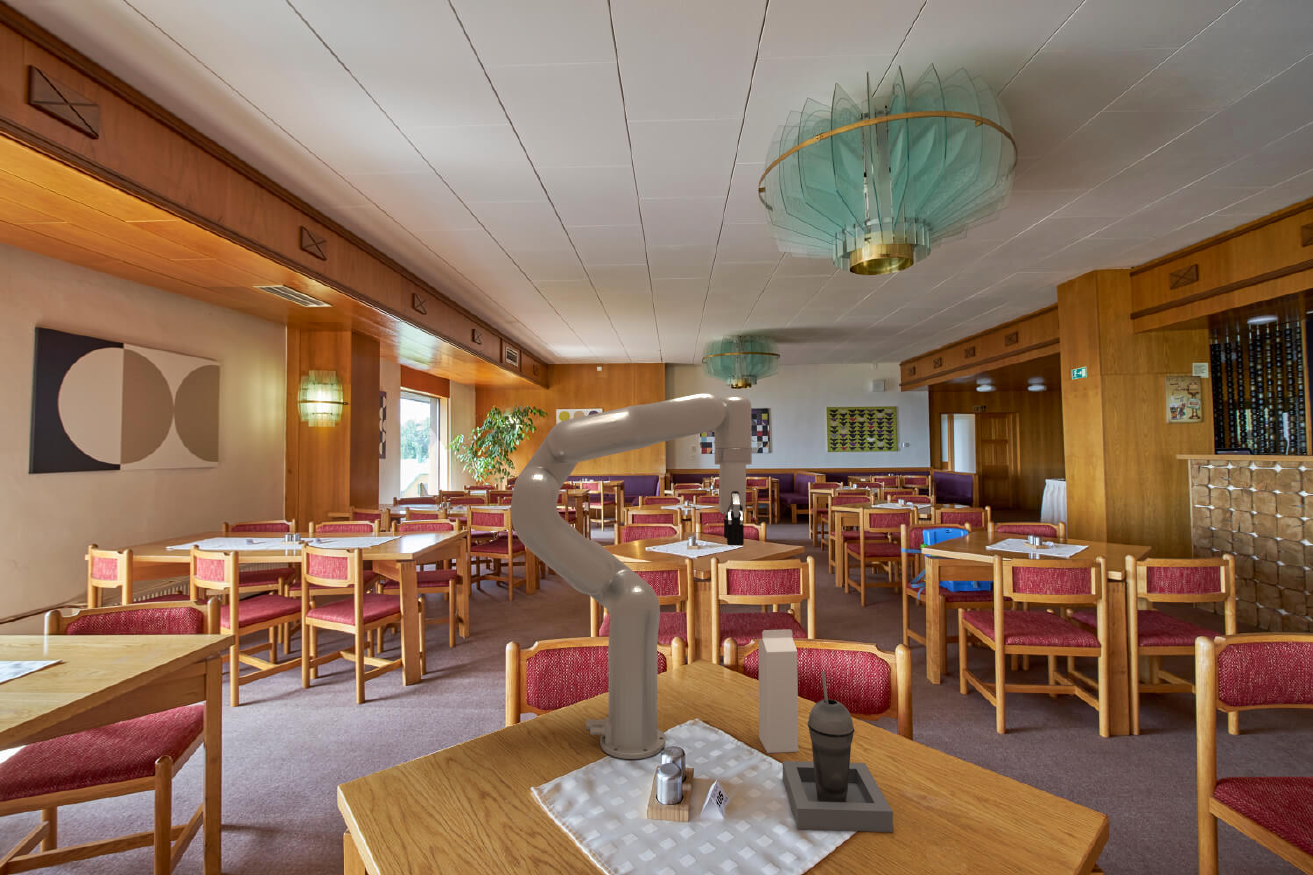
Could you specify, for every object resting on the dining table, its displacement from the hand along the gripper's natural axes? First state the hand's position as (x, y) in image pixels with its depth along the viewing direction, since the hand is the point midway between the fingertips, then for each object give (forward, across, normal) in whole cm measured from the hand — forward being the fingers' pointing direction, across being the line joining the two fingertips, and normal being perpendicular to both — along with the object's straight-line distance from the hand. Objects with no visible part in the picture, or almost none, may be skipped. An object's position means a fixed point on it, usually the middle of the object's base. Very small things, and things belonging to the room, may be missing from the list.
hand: (733, 541), depth 122 cm
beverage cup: (+38, +24, +14) cm, 47 cm away
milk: (+38, +5, +8) cm, 40 cm away
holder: (+38, +24, +14) cm, 47 cm away
